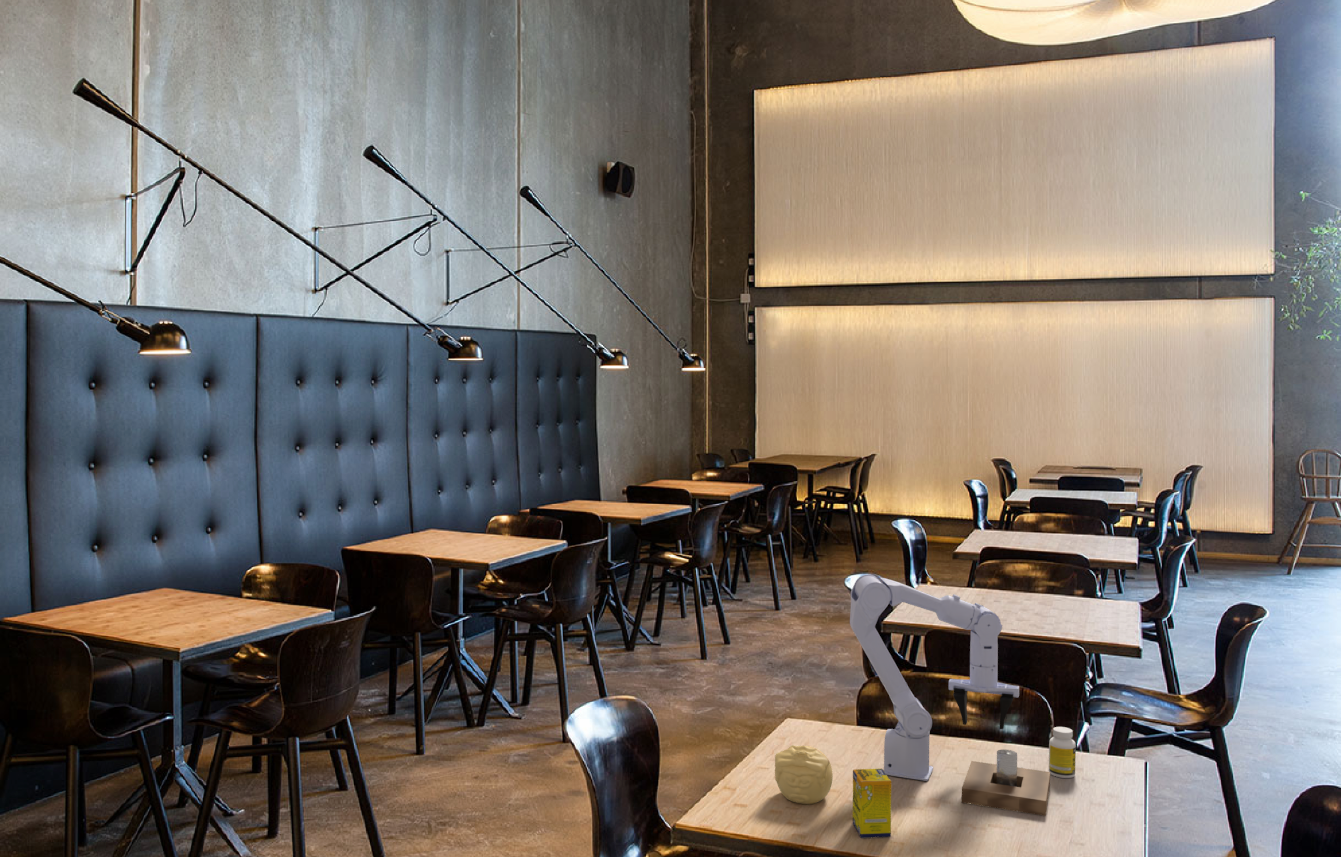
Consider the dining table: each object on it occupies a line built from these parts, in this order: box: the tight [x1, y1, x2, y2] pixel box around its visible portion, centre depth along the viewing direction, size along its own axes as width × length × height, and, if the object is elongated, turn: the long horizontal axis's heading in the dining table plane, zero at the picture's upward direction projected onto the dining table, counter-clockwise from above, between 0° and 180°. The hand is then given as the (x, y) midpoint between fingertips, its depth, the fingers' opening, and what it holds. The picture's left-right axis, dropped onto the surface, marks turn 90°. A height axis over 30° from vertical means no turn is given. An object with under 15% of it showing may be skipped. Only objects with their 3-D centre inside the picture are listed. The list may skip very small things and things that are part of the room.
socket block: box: [961, 760, 1051, 817], centre depth 210 cm, size 16×16×3 cm
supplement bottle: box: [1048, 726, 1077, 779], centre depth 220 cm, size 5×5×10 cm
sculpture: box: [774, 744, 834, 805], centre depth 208 cm, size 12×12×11 cm
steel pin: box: [996, 749, 1018, 787], centre depth 209 cm, size 4×4×8 cm
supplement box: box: [852, 768, 892, 839], centre depth 192 cm, size 6×6×11 cm
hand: (983, 725), depth 221 cm, fingers open, 7 cm apart
